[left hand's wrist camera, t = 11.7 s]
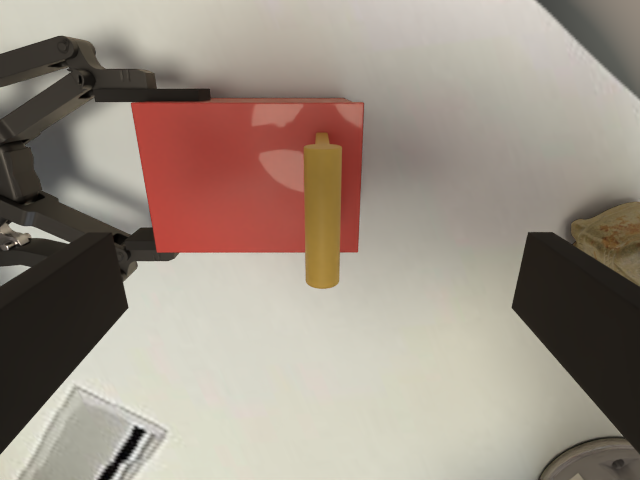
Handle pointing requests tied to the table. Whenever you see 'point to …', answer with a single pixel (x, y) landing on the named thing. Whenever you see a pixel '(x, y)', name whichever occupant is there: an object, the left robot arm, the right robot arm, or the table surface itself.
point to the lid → (254, 178)
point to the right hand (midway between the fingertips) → (212, 171)
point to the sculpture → (612, 239)
